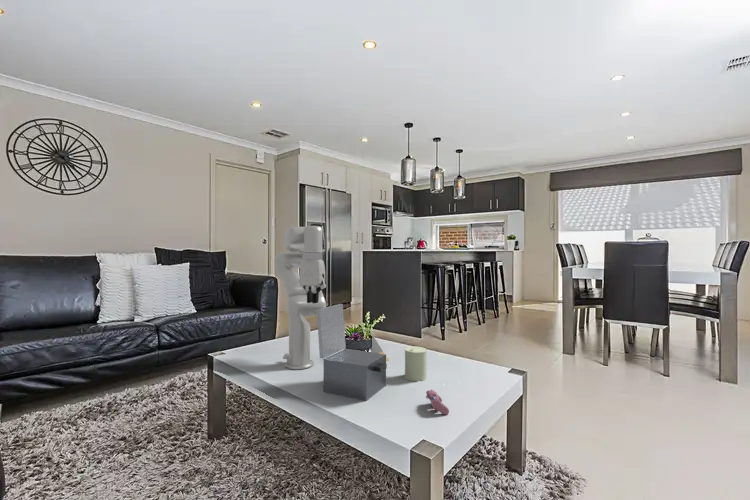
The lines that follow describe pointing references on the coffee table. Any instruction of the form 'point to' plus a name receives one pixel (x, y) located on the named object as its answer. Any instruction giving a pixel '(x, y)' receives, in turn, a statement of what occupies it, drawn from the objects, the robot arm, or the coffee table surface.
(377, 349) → the sandwich container
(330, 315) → the lid
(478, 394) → the coffee table surface
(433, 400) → the pink toy animal
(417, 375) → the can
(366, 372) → the grey storage box
